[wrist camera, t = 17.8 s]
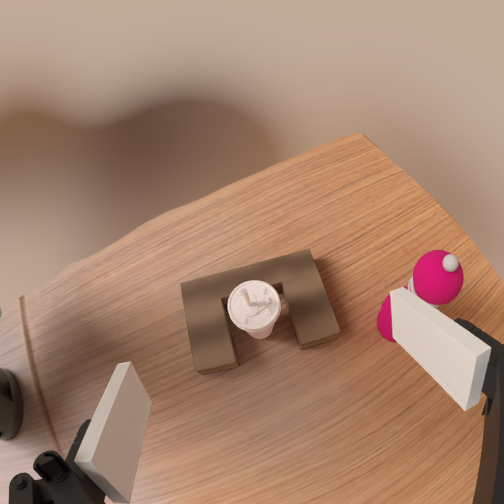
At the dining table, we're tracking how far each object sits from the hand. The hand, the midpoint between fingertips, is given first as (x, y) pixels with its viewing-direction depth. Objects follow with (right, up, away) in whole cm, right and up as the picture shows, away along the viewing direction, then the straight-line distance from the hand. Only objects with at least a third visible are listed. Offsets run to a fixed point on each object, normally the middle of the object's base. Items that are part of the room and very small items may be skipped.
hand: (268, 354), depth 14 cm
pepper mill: (+21, -6, +29) cm, 36 cm away
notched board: (0, -5, +32) cm, 32 cm away
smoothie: (0, -6, +31) cm, 32 cm away
